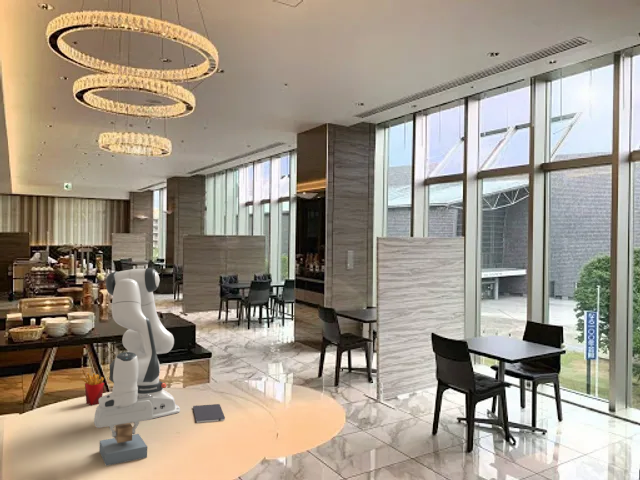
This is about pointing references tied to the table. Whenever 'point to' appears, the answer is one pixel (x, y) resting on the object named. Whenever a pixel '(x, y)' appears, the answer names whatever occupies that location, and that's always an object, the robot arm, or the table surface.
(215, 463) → the table surface
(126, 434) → the walnut cube
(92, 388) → the french fries
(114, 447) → the slate plinth
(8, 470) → the table surface
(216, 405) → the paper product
